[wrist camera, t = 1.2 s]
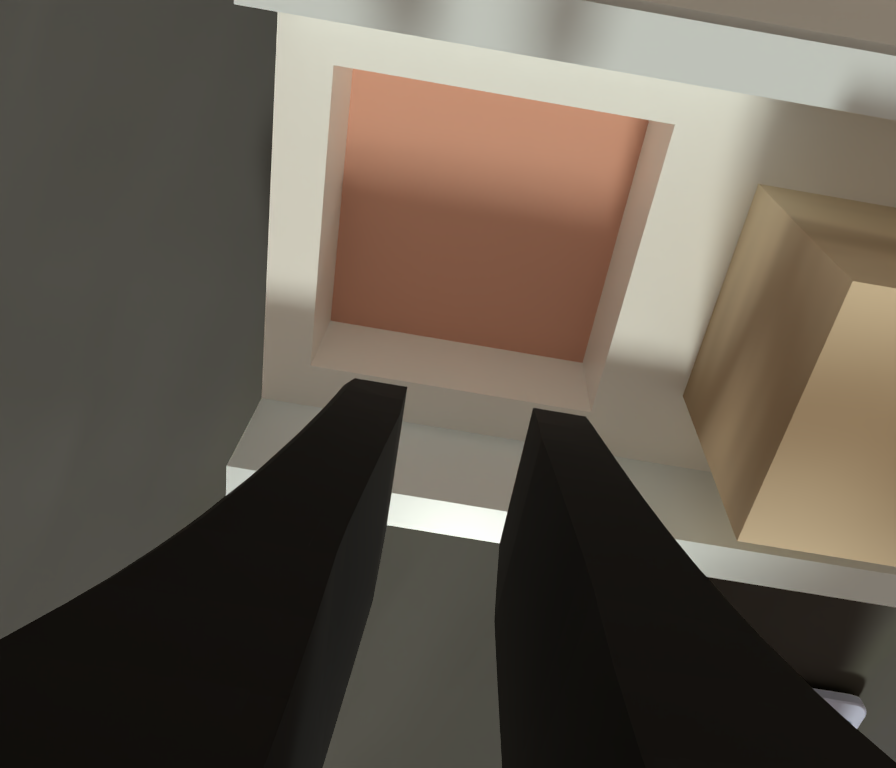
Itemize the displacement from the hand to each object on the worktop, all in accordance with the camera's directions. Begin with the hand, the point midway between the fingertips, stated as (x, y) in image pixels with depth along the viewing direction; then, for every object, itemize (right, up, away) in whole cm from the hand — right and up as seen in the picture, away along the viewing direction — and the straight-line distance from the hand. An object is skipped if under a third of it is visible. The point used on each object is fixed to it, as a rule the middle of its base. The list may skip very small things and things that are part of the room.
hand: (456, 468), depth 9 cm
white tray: (+7, +4, +8) cm, 12 cm away
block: (+7, +2, +6) cm, 10 cm away
